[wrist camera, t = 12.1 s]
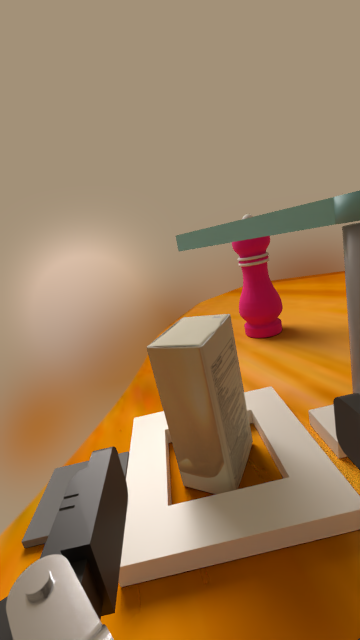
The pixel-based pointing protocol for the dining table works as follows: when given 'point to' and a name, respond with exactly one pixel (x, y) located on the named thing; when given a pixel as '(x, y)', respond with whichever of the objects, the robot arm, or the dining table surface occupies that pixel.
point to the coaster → (56, 501)
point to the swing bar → (277, 222)
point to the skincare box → (203, 401)
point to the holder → (251, 502)
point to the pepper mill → (257, 289)
